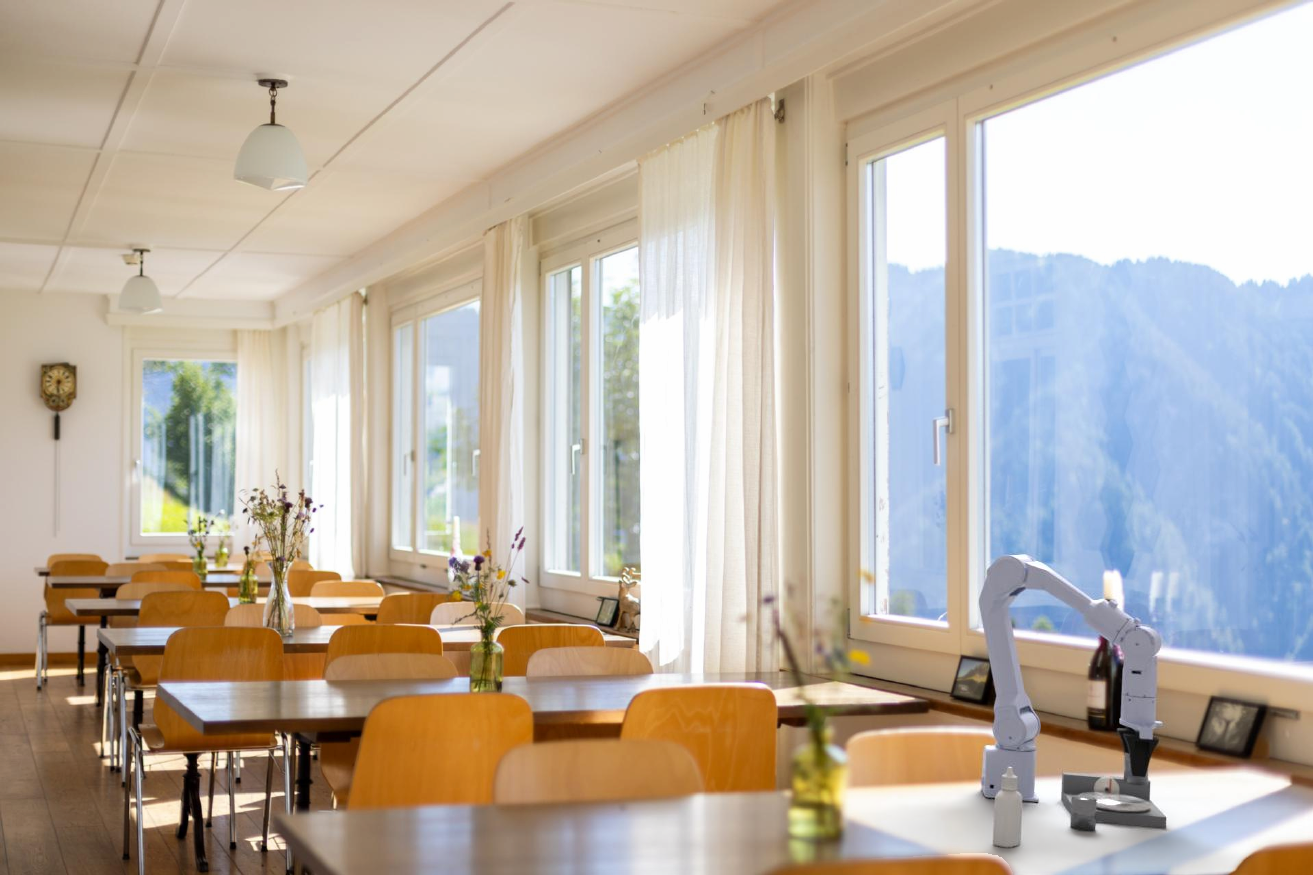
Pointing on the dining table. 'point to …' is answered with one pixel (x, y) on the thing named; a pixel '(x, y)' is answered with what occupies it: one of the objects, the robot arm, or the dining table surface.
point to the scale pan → (1118, 802)
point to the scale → (1112, 784)
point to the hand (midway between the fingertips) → (1136, 773)
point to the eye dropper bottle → (1007, 812)
